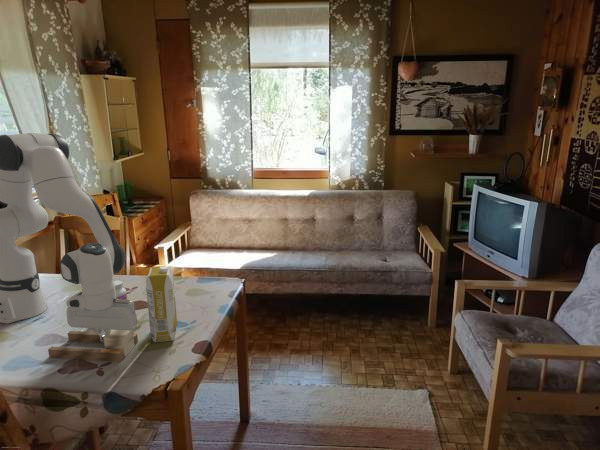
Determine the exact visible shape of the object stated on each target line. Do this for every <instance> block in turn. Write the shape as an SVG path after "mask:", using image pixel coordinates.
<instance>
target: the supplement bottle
mask: <svg viewBox="0 0 600 450" xmlns="http://www.w3.org/2000/svg"><path fill="white" fill-rule="evenodd" d="M113 282H114V284H115V291H116V299H122V300H126V299H127V300H128V293H127V289H126V288H125V287H123V286H124V285H123V281H122V280H113Z"/></svg>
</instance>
